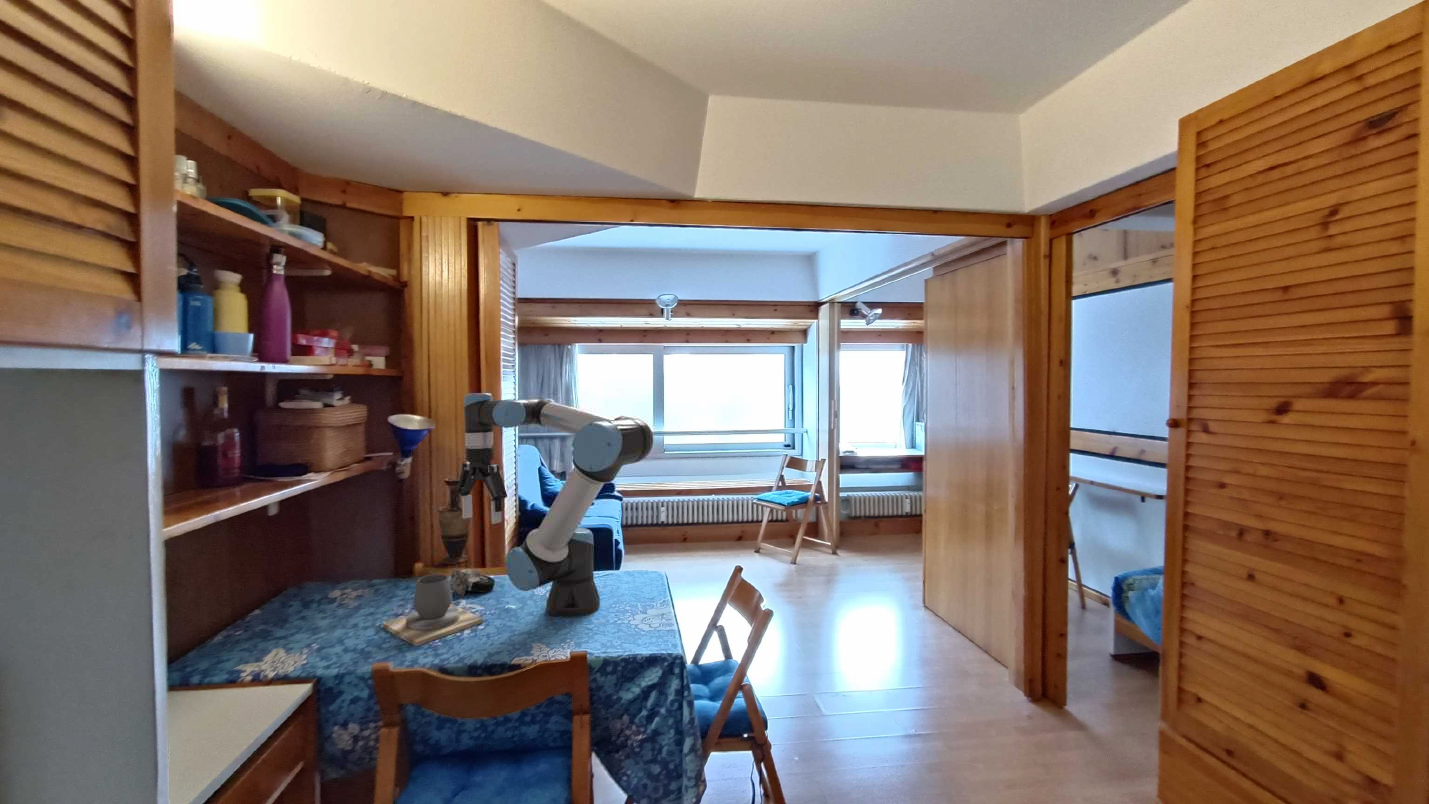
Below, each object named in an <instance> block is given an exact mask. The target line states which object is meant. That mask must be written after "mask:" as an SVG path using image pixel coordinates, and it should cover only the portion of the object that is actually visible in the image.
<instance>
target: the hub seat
mask: <svg viewBox="0 0 1429 804" xmlns="http://www.w3.org/2000/svg"><path fill="white" fill-rule="evenodd" d="M483 621H484V620H483V617H481V616H478V615H476V614H474V613H472V612H469V611H467V610H464V609H463V608H460V607H458V606H456V605H454V604H452V603H451V604H450V606H449V608H448V610H447V612H446V614H445V615H443V616H441V617H439V618H435V619H423V618H421V617H420V616H419V614H418V613H417V611H416V610H415V612H413V613H411V614H407V615H405V616H401V617H398V618H394V619H393V620H388V621H385V622H383V623H382V628H383V629H384V630H386V631H388V632H390V633H392V634H394V635H395V636H397V637H399V638H401V639H402V640H404V641H405V642H407V643H409V644H411V645H413V646H415V647H419V646H422V645H425V644H426V643H429V642H432V641H435V640H437V639H440V638H443V637H446V636H449V635H452V634H455V633H457V632H461V631H464V630H465V629H469V628H472V627H474V626H475V627H476V626H478V625H480V624H482V623H483Z"/></svg>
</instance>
